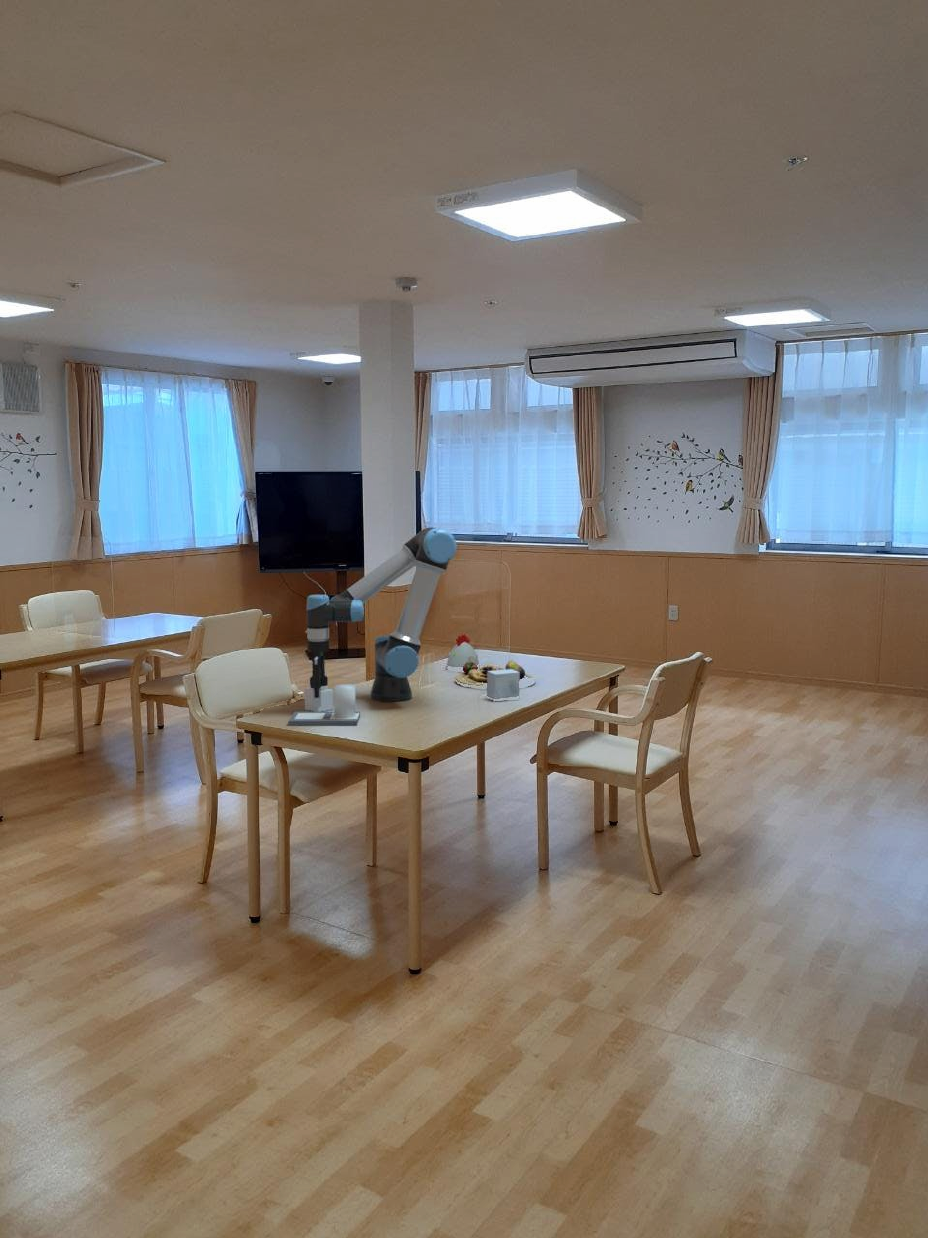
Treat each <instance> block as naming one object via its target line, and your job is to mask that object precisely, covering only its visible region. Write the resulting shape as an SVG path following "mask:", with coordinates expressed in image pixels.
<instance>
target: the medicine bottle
mask: <svg viewBox="0 0 928 1238" xmlns="http://www.w3.org/2000/svg"><path fill="white" fill-rule="evenodd" d="M311 686H312V675H311V676H310V677H309V688H308V689H307V688H306V689H304V710H305V709H306V710H305V711H309V710H311V711H310V712H313V711H315V712H322V711H323V712H327V711H326V710H328V711H332V710H331V709H333V710H334V689H332V688H329V686H328V676H327V675H321V684H320V686H321V687H320V688H321V707H313V688H311Z"/></svg>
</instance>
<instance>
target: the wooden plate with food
mask: <svg viewBox="0 0 928 1238" xmlns="http://www.w3.org/2000/svg"><path fill="white" fill-rule="evenodd" d="M477 669H478V667H477V665H476V664H475V663H474V662H472V661H467V662H466V664H465V665H464V666H463V671H464V672H461V673H459V674H457V675H456V676H455V678H454V680H455V679H456V680H457V681H458V682H460V683H463V684H468V685H476V686H480V685H481V686H484V685H483V684H476V683H482V682H483V683H487V671H495V670H509V669H513V670H515V671H518V672H520V679H522V678H525V677H524V676H526V677H528V678H535V677H534V676H532V675H529V674H527V673H526V671H525V669H524V668H523V666H521V665H519V664H518V662H516V661H514V660H509V661H508V663H507V664H506V665H505V668H502V667H495V666H493V665H486V666H485V665H483V666H482V667H481V668H479V671H478V670H477ZM462 678H464V679H465V680H466V681H465V680H463V679H462ZM467 681H468V682H467Z"/></svg>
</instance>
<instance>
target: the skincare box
mask: <svg viewBox="0 0 928 1238" xmlns="http://www.w3.org/2000/svg"><path fill="white" fill-rule="evenodd" d="M519 681H520V672H518V671H515V670H513V669H509V670H505V669H504V670H495V671H487V690H486V697H487V696H488V697H490V698H492V699H500V698H509V697H517V696H519V697H520V689H519Z"/></svg>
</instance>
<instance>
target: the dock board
mask: <svg viewBox="0 0 928 1238" xmlns="http://www.w3.org/2000/svg"><path fill="white" fill-rule="evenodd" d="M360 718H361V711H355V717H352V718H336V717H334V711H323V712H313V711H294V712H293V714H292V715H291V717H290V718H289V720H288V726H289V725H299V727H301V726H302V727H303V726H304V727H305V726H307V727H309V726H311V727H313V726H315V727H316V726H321V727H322V726H325V727H326V726H329V727H330V726H333V727H335V726H339V727H341V726H342V727H343V726H347V727H348V726H352V727H353V726H354V727H355V726H358V723H359V720H360Z"/></svg>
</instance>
